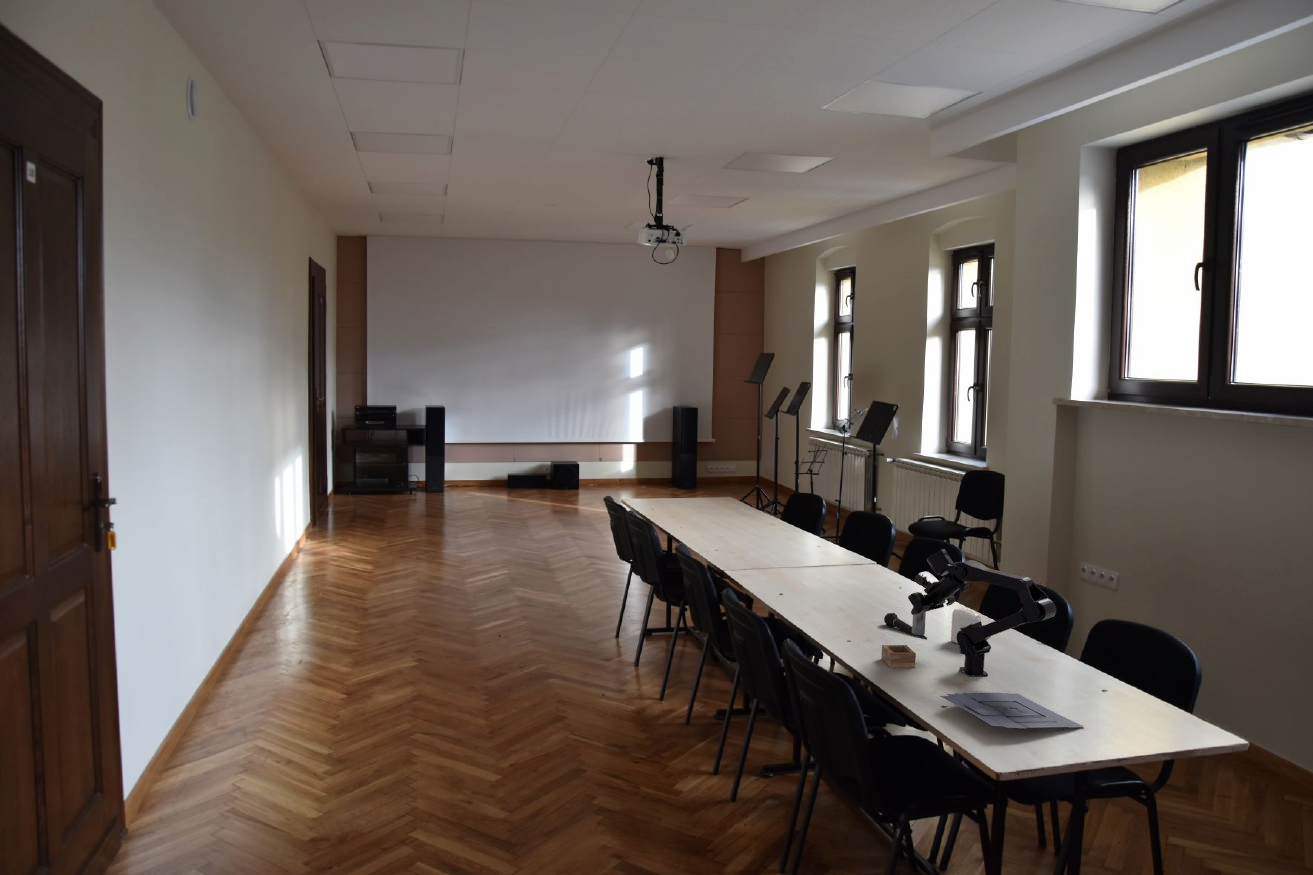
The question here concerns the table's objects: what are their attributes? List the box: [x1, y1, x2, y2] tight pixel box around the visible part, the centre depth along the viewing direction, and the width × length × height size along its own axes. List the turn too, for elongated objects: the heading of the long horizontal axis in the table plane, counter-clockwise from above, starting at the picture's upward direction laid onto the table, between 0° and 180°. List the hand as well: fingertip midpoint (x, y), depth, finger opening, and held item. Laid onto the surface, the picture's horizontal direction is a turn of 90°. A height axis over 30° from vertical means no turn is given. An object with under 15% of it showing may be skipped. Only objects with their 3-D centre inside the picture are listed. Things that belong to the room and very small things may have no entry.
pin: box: [911, 594, 927, 636], centre depth 284 cm, size 4×4×12 cm
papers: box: [939, 692, 1085, 729], centre depth 236 cm, size 24×30×4 cm
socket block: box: [881, 644, 917, 669], centre depth 276 cm, size 8×8×4 cm
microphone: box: [883, 612, 928, 640], centre depth 308 cm, size 5×5×19 cm
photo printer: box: [950, 607, 982, 644], centre depth 295 cm, size 10×4×12 cm, turn 29°
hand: (915, 612), depth 285 cm, fingers closed on pin, 4 cm apart
